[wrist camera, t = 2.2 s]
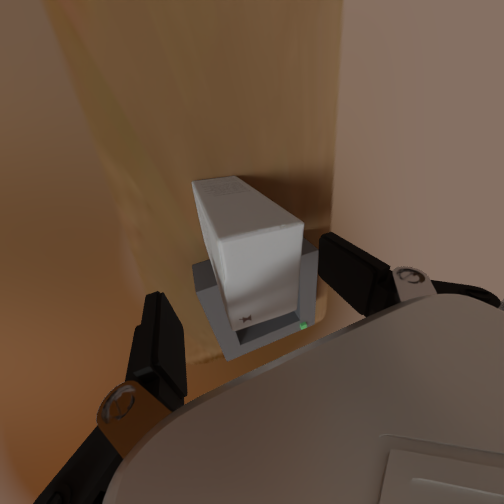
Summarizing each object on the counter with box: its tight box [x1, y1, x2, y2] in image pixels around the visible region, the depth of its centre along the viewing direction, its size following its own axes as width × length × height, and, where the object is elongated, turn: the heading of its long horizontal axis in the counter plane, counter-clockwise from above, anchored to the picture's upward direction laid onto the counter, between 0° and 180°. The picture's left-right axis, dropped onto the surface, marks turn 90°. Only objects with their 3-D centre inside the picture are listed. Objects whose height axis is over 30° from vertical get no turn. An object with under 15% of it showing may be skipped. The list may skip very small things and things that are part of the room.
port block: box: [192, 237, 319, 361], centre depth 25 cm, size 13×13×5 cm
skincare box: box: [192, 176, 304, 331], centre depth 15 cm, size 6×4×12 cm
